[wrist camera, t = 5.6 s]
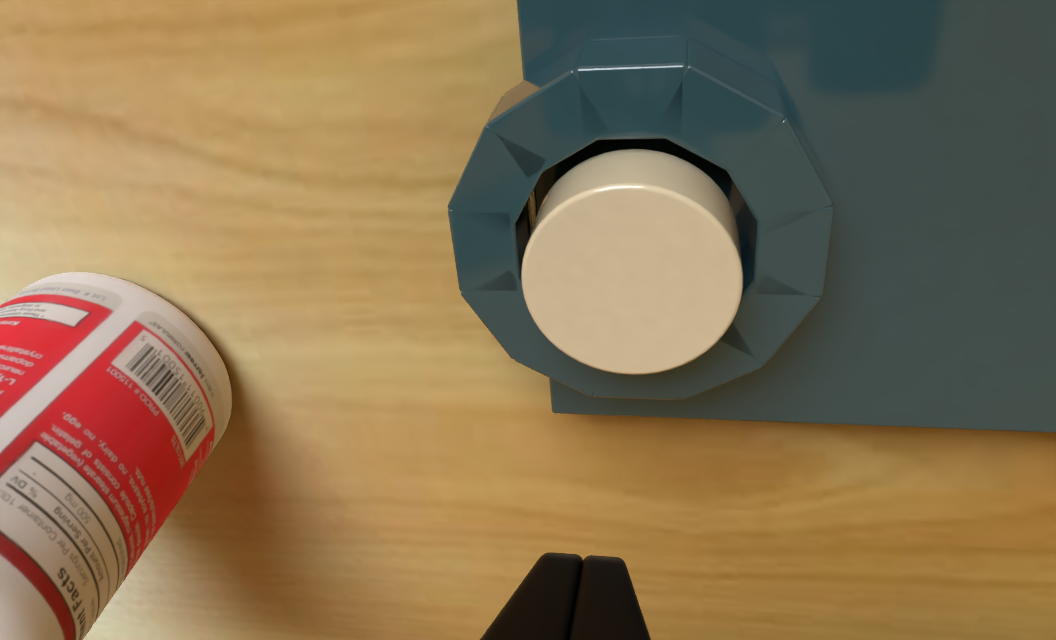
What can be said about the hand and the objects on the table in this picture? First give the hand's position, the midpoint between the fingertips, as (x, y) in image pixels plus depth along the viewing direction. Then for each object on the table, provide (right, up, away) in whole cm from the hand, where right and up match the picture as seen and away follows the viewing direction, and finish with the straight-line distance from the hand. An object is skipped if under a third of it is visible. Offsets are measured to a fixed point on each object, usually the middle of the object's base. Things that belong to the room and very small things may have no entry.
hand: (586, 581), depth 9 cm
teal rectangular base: (+8, +5, +7) cm, 12 cm away
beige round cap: (+1, +4, +6) cm, 7 cm away
